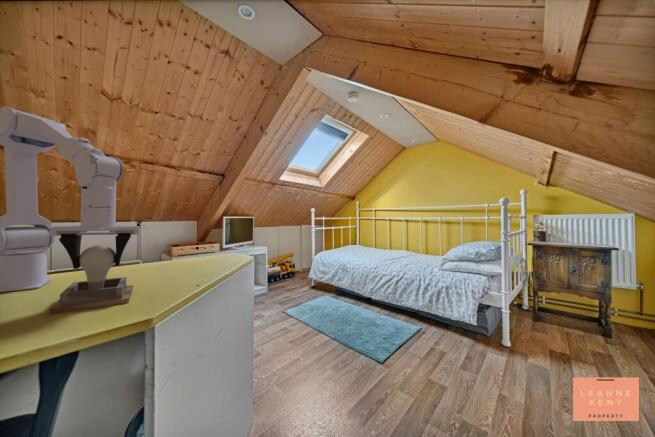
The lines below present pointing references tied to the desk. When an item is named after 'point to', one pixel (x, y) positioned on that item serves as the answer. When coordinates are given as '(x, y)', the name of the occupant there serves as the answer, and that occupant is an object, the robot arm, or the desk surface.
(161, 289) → the desk surface
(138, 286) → the desk surface
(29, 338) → the desk surface
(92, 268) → the lightbulb
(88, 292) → the socket base
